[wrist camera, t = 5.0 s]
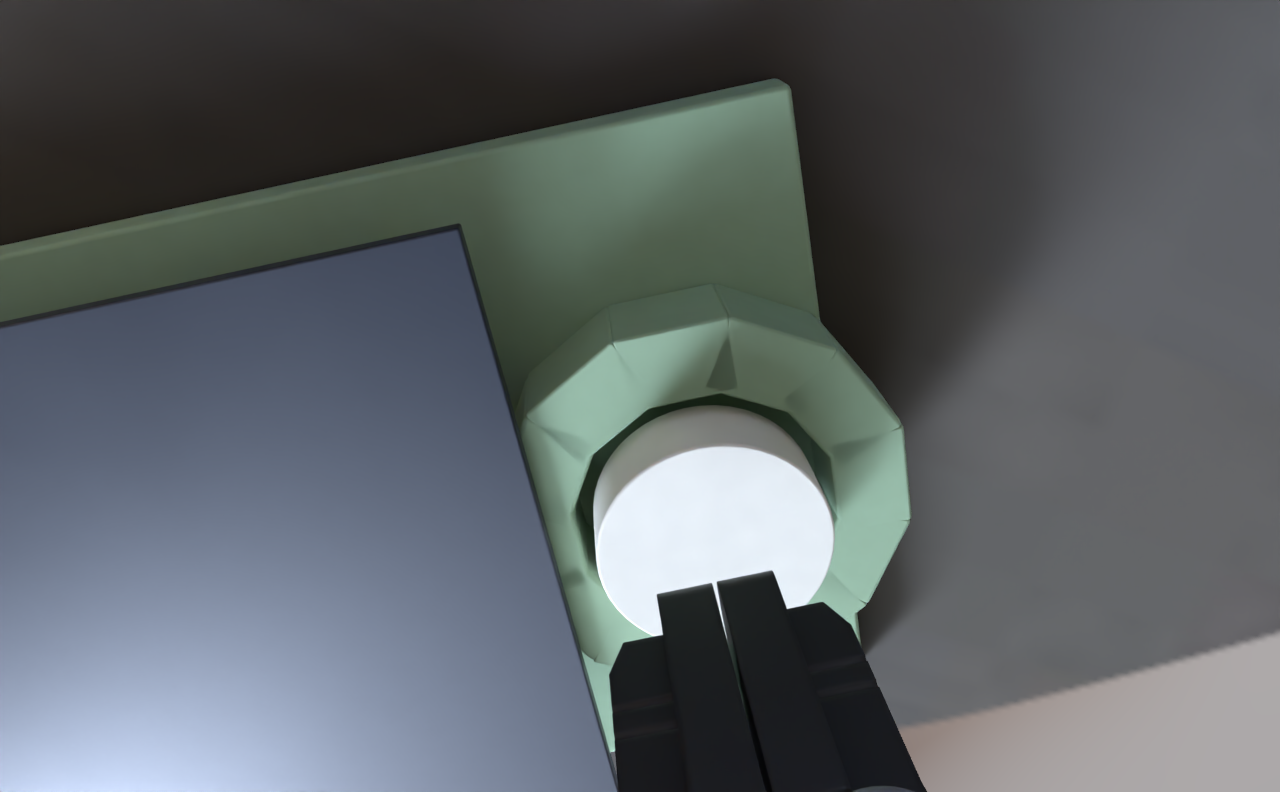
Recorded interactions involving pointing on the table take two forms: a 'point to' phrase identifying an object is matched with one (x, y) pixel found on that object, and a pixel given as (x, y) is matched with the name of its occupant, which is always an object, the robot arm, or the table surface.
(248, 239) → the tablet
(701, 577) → the button
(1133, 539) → the table surface
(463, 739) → the tablet screen
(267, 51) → the table surface
